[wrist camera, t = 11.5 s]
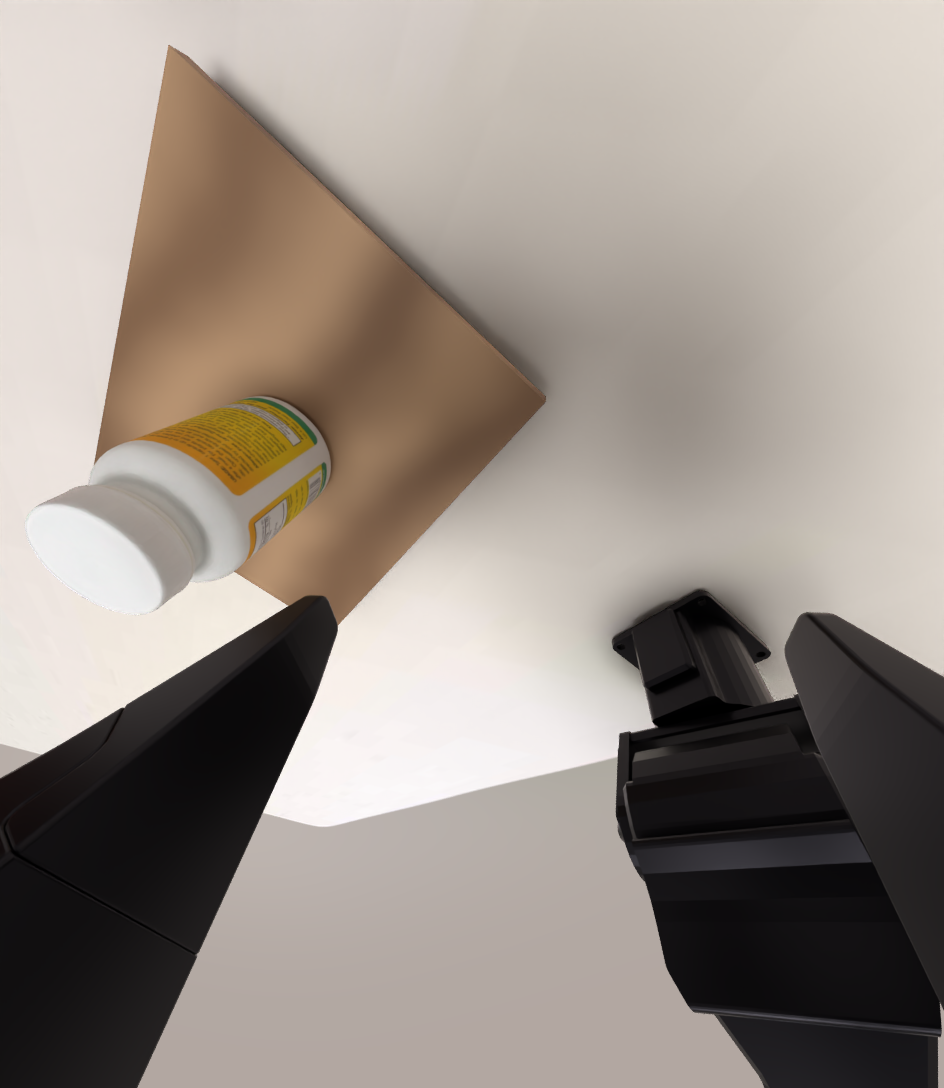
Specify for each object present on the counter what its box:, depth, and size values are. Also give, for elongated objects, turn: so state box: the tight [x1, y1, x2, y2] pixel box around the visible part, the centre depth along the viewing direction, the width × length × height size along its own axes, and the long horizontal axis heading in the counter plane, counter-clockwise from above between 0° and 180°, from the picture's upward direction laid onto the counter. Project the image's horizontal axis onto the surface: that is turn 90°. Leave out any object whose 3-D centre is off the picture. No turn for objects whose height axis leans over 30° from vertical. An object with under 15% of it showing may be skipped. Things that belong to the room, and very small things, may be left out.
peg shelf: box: [94, 45, 546, 625], centre depth 20 cm, size 16×20×2 cm
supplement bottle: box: [25, 396, 331, 615], centre depth 15 cm, size 5×5×10 cm
